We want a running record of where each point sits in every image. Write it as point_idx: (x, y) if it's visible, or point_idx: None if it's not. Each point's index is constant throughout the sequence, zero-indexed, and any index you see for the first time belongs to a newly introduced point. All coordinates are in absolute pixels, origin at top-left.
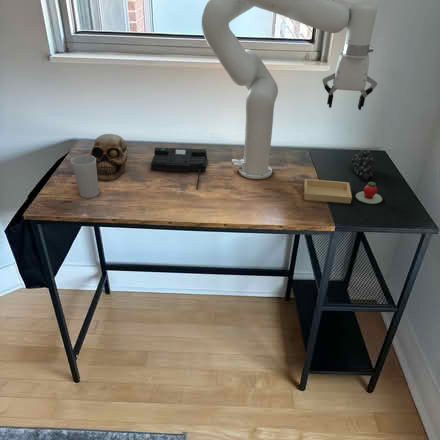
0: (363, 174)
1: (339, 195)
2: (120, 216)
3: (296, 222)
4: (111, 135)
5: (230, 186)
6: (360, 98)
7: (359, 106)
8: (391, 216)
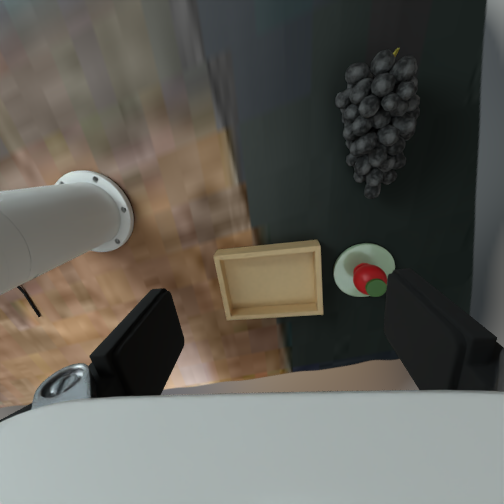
0: (365, 180)
1: (296, 312)
2: (9, 400)
3: (230, 374)
4: None
5: (84, 290)
6: (434, 378)
7: (396, 349)
8: None
